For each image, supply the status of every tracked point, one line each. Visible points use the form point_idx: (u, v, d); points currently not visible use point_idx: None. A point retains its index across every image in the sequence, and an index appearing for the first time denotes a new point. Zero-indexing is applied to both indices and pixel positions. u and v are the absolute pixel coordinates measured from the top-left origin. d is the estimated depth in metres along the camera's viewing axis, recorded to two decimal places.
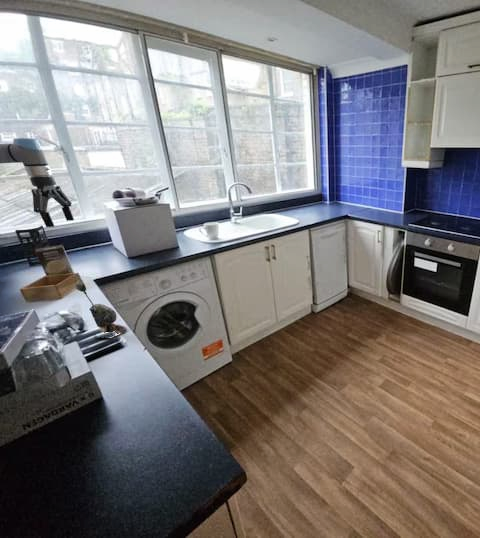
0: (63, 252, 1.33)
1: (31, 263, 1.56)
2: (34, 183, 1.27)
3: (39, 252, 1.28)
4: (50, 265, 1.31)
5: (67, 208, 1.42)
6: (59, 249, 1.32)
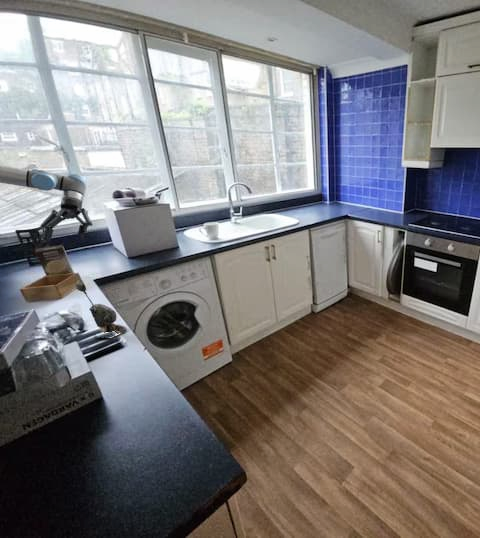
0: (63, 252, 1.33)
1: (31, 263, 1.56)
2: (77, 204, 1.47)
3: (39, 252, 1.28)
4: (50, 265, 1.31)
5: (52, 230, 1.42)
6: (59, 249, 1.32)
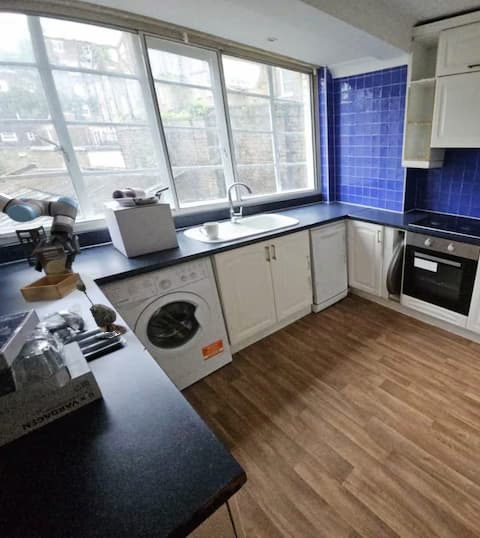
0: (63, 252, 1.33)
1: (31, 263, 1.56)
2: (68, 230, 1.39)
3: (39, 252, 1.28)
4: (50, 265, 1.31)
5: None
6: (59, 249, 1.32)
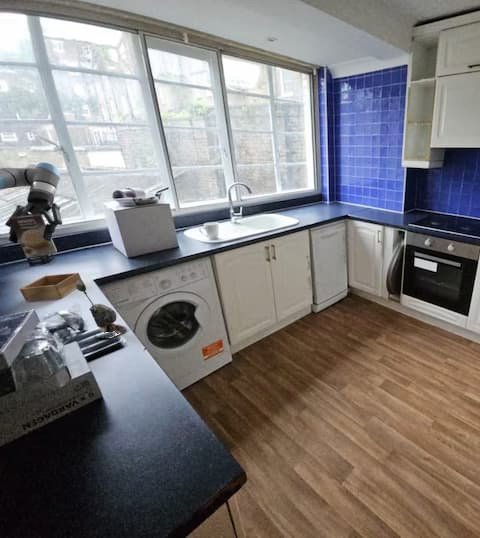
0: (41, 221, 1.18)
1: (31, 263, 1.56)
2: (48, 198, 1.25)
3: (13, 220, 1.13)
4: (26, 235, 1.17)
5: None
6: (36, 217, 1.17)
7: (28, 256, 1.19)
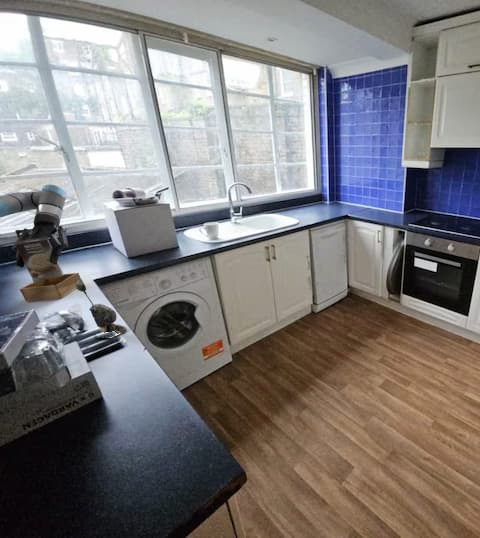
0: (48, 245, 1.18)
1: None
2: (54, 221, 1.24)
3: (20, 245, 1.13)
4: (33, 260, 1.16)
5: None
6: (43, 241, 1.17)
7: (35, 280, 1.18)
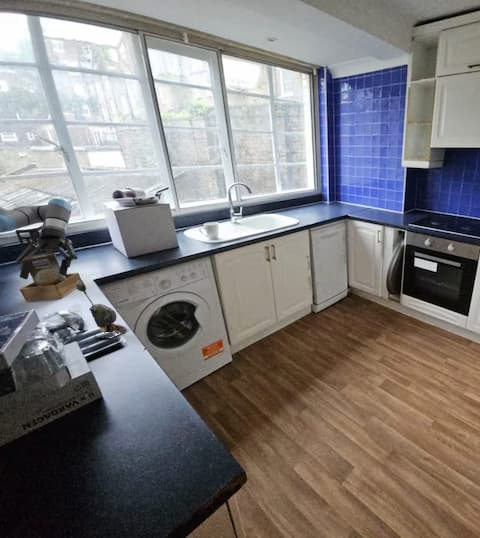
0: (55, 260, 1.21)
1: None
2: (60, 234, 1.27)
3: (28, 260, 1.15)
4: (40, 275, 1.19)
5: None
6: (50, 257, 1.19)
7: None
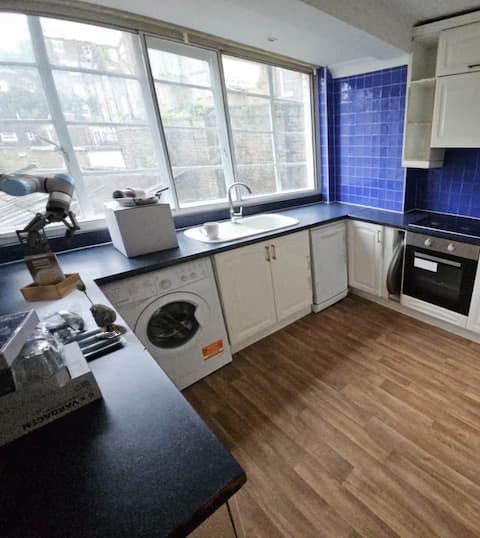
0: (55, 260, 1.21)
1: None
2: (64, 207, 1.35)
3: (28, 260, 1.15)
4: (40, 275, 1.19)
5: (36, 235, 1.30)
6: (50, 257, 1.19)
7: None
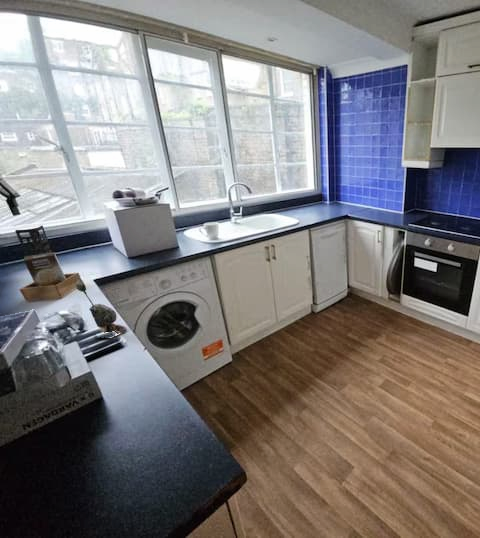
0: (55, 260, 1.21)
1: None
2: None
3: (28, 260, 1.15)
4: (40, 275, 1.19)
5: None
6: (50, 257, 1.19)
7: None
